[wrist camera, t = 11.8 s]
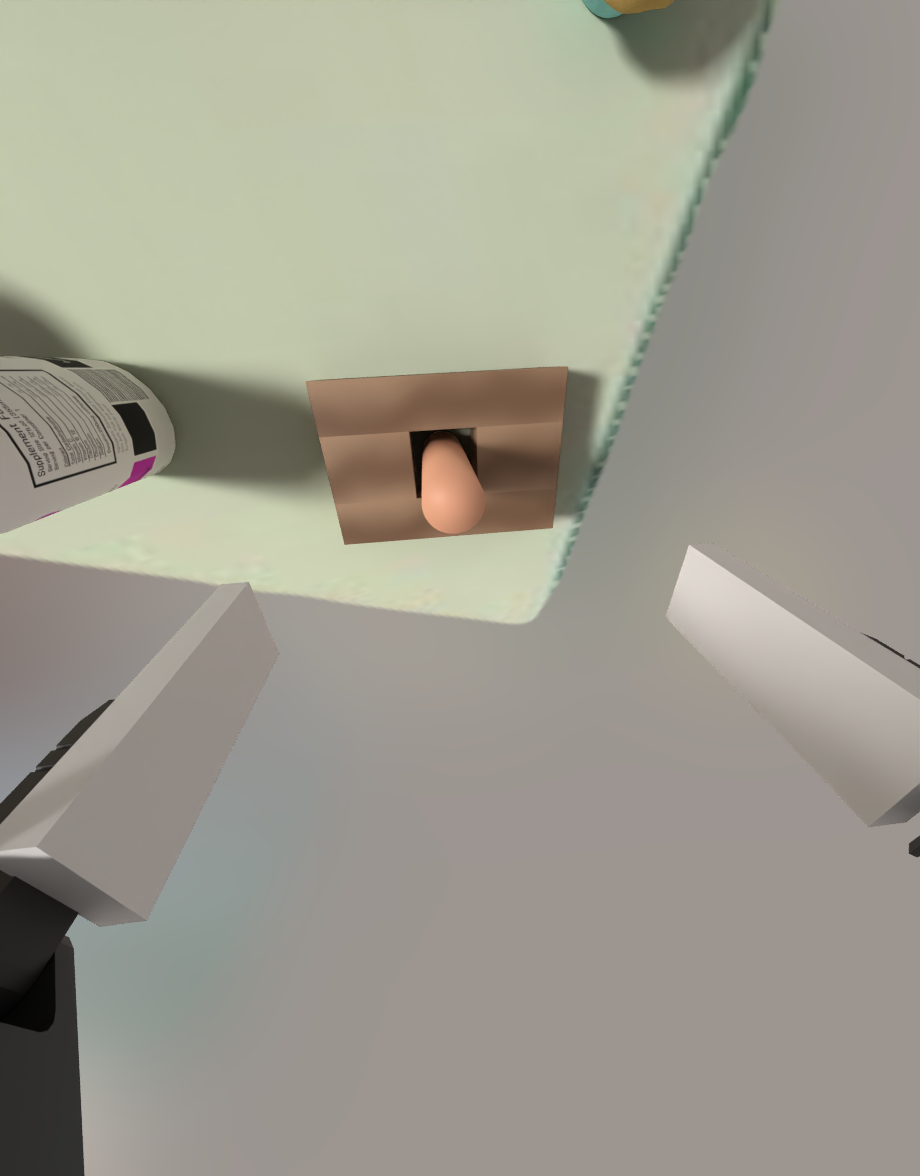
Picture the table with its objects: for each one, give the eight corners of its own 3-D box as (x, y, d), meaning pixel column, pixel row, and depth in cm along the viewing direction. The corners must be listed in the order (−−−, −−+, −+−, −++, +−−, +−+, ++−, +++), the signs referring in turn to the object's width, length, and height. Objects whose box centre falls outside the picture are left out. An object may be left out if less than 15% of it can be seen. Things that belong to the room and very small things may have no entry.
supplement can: (176, 489, 31) (3, 574, 18) (59, 445, 28) (-235, 508, 16) (186, 395, 27) (-18, 417, 15) (55, 335, 25) (-330, 300, 12)
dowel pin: (420, 432, 30) (418, 473, 18) (461, 429, 30) (485, 469, 19) (424, 474, 32) (424, 536, 20) (462, 471, 32) (485, 531, 20)
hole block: (321, 379, 28) (305, 381, 24) (548, 366, 29) (568, 366, 25) (353, 524, 34) (344, 544, 30) (538, 510, 35) (552, 528, 31)
